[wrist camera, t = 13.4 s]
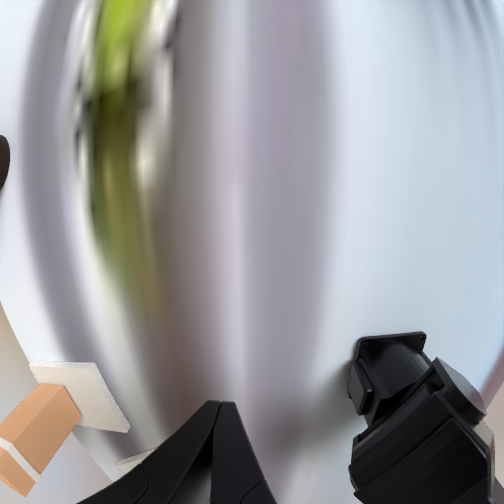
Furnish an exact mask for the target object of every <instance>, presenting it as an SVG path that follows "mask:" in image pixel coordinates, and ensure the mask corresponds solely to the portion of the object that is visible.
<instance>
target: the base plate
mask: <svg viewBox="0 0 504 504" xmlns="http://www.w3.org/2000/svg"><path fill="white" fill-rule="evenodd" d="M29 367H30V369H31V371H32V373H33V374H34V376H35V378H36V380H37V381H38V383H39V384H40V383H46V384H53V385H61V386H64V388H65V389H66V391H67V393H68V394H69V396H70V398H71V399H72V401H73V403H74V404H75V406H76V407H77V409H78V411H79V412H80V414H81V415H82V417H81V418H80V420H79V421H78V422H77V424H76V425H80V426H85V427H90V428H96V429H102V430H109V431H116V432H124V433H127V432H128V430H129V428H130V427H131V425H130V424H129V422H128V421H127V419H126V418H125V416H124V414H123V413H122V411H121V409H120V408H119V406H118V404H117V403H116V401H115V399H114V397H113V396H112V394H111V392H110V390H109V389H108V387H107V385H106V383H105V381H104V379H103V377H102V375H101V373H100V372H99V370H98V368H97V366H96V364H95V362H52V361H35V360H34V361H33V362H32V363H30V364H29Z"/></svg>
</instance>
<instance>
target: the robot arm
mask: <svg viewBox="0 0 504 504" xmlns="http://www.w3.org/2000/svg"><path fill="white" fill-rule="evenodd" d="M421 336H422V337H421ZM420 337H421V338H420ZM425 341H426V334H425V333H424V332H422V331H420V332H412V333H402V334H392V335H380V336H367V337H362V338H361V339H360V340H359V342H358V347H357V352H356V357H355V360H354V361H353V362H352V363H351V368H350V373H349V378H348V382H347V386H348V397H349V398H350V399H352V400H353V403H354V406H355V409H356V412H357V414H358V415H359V416H360V415H364V417H365V420H366V423H367V425H368V428H367V429H366V430H365V431H364V432H362V433H361V434H358V435H357V436H356V437H354V438H353V447H352V458H351V464H350V465H349V467H348V471H349V474H350V479H351V483H352V485H353V487H354V489H355V490H356V492H354V496H355V497H356V498H357V499H359V500H360V501H361V502H362V503H363V504H504V488H503V487H502V485H501V484H500V483H499V482H498V480H497V479H496V477H495V449H494V448H495V447H494V435H493V433H492V431H491V430H490V428H488V426H487V425H486V423H485V422H484V421H483V420H482V419H483V418H484V417H485V416H486V415H487V412H486V409H485V406H484V404H483V401H482V399H481V396H480V394H479V392H478V391H477V390H476V389H475V388H474V387H473V386H472V385H471V384H470V383H469V382H468V380H467V379H466V378H465V377H464V376H462V375H461V374H460V373H458V372H457V371H456V370H454V369H453V368H451V367H450V366H449V365H447V364H446V363H445V362H443V361H442V360H441V359H439V358H438V357H436V358H435V360H434V361H433V362H431V361H430V359H429V358H428V357H427V356H426V355H425V353H424V352H423V348H424V344H425ZM364 342H366V344H364V345H363V343H364ZM210 493H211V496H210ZM209 497H210V504H277V503H276V501H275V499H274V497H273V495H272V493H271V491H270V489H269V487H268V484H267V482H266V480H265V478H264V475H263V473H262V471H261V468H260V466H259V463H258V461H257V458H256V456H255V454H254V451H253V449H252V446H251V443H250V441H249V438H248V436H247V433H246V431H245V428H244V425H243V423H242V420H241V417H240V415H239V412H238V409H237V407H236V404H235V402H230V401H222V402H220V401H215V400H208V401H206V402H205V403H204V404H203V405H202V406H201V407H200V408H199V409H198V410H197V411H196V412H195V413H194V414H193V415H192V416H191V417H190V418H189V419H188V420H187V421H186V422H185V423H184V424H183V425H181V426H180V427H179V428H178V429H177V430H176V431H175V432H174V433H173V434H172V435H171V436H170V437H168V438H167V439H166V440H165V441H164V442H163V443H162V444H161V445H160V446H158V447H157V448H156V449H155V450H154V451H153V452H152V453H151V454H149V455H148V456H147V457H146V458H145V459H144V460H142V461H141V463H139V464H138V465H136V466H135V467H134V468H133V469H132V470H130V471H129V472H128V473H126V474H125V475H124V476H122V477H121V478H120V479H118V480H117V481H115V482H114V483H112V484H111V485H109V486H107V487H106V488H104V489H102V490H101V491H99V492H97V493H95V494H94V495H92V496H90V497H88V498H86V499H84V500H83V501H81V502H79V503H77V504H208V500H209Z"/></svg>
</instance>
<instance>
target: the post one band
mask: <svg viewBox="0 0 504 504" xmlns="http://www.w3.org/2000/svg"><path fill="white" fill-rule="evenodd" d="M81 417H82V415H81V414H80V412H79V411H78V409H77V407H76V406H75V404H74V403H73V401H72V399H71V398H70V396H69V394H68V393H67V391H66V389H65V388H64V386H61V385H53V384H46V383H40V384H39V385H38V386H37V387H36V388H35V389H34V390H33V391H32V392H31V393H30V394H29V395H28V396H27V397H26V398H25V399H24V400H23V401H22V402H21V403H20V404H19V405H18V406H17V407H16V408H15V409H14V410H13V411H12V412H11V413H10V415H8V417H7V418H6V419H5V420H4V421H3V422H2V423H1V424H0V480H2V482H3V483H5V484H6V485H8V486H9V487H11V488H12V489H14V490H15V491H17V492H18V493H20V494H21V495H23V496H24V497H26V496H27V494H28V493H29V491H30V490H31V488H32V487H33V485H34V484H35V482H36V483H38V482H39V480H40V479H41V476H40V475H41V473H42V472H43V470H44V469H45V468H46V466H47V465H48V463H49V462H50V460H51V459H52V457H53V456H54V455H55V453H56V452H57V450H58V449H59V447H60V446H61V445H62V443H63V442H64V440H65V439H66V437H67V436H68V435H69V433H70V432H71V431H72V429H73V428H74V427H75V425H76V424H77V422H78V421H79V420H80V418H81Z"/></svg>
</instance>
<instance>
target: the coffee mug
mask: <svg viewBox="0 0 504 504" xmlns="http://www.w3.org/2000/svg"><path fill="white" fill-rule="evenodd" d="M9 163H10V148H9V144H8V141H7V139H6V138H5V137H4V136H2V135H0V189H1V188H2V186H3V184H4V182H5V180H6V177H7V174H8V170H9Z"/></svg>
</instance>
